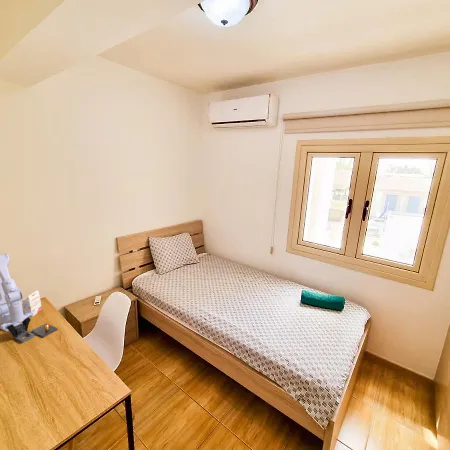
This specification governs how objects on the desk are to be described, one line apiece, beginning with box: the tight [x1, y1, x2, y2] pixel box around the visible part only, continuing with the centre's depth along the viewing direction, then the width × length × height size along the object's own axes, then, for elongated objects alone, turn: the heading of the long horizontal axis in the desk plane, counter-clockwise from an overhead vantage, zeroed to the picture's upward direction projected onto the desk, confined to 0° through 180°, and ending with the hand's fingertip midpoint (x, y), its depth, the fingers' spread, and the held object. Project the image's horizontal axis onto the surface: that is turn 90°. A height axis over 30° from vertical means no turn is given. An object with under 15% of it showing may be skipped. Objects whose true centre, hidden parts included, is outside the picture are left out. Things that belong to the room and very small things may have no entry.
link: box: [14, 324, 36, 344], centre depth 137 cm, size 10×6×6 cm, turn 65°
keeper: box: [30, 323, 59, 338], centre depth 143 cm, size 11×8×4 cm
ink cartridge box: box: [21, 290, 43, 318], centre depth 160 cm, size 9×5×15 cm, turn 179°
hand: (20, 333), depth 139 cm, fingers open, 5 cm apart
